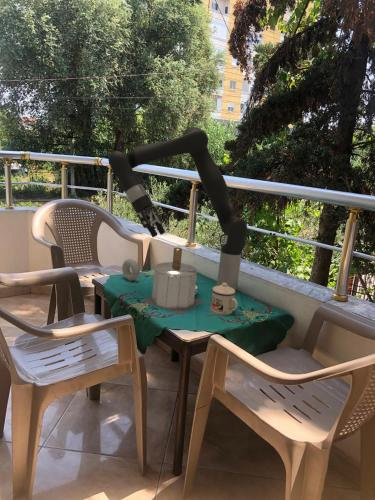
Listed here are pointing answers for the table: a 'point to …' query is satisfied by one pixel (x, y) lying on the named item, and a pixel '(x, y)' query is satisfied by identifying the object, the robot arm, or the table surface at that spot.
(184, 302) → the cylinder
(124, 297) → the table surface
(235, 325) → the table surface
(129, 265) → the donut
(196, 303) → the mat
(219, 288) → the teacup with lid
